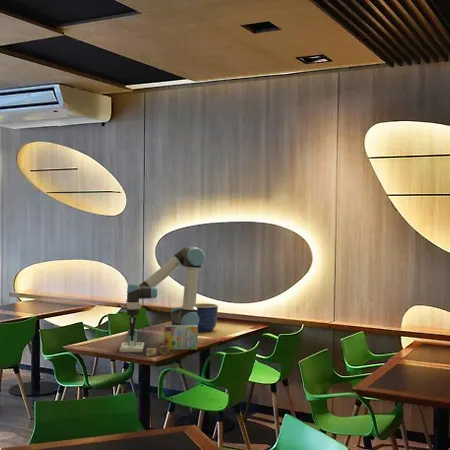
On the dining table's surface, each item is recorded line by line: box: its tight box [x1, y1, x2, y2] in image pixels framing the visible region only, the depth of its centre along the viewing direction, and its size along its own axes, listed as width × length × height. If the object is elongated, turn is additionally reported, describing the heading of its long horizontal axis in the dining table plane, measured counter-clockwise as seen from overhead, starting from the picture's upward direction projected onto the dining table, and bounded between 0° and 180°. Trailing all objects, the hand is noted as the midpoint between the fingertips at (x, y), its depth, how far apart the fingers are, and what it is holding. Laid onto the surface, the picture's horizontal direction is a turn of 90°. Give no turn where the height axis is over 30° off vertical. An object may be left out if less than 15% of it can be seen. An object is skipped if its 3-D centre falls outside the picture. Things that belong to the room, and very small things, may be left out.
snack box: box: [164, 324, 199, 351], centre depth 394 cm, size 21×6×15 cm, turn 92°
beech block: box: [146, 347, 157, 357], centre depth 375 cm, size 5×4×4 cm
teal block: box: [127, 328, 138, 346], centre depth 392 cm, size 5×5×10 cm
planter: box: [196, 302, 219, 333], centre depth 460 cm, size 21×21×19 cm
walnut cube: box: [159, 345, 171, 356], centre depth 378 cm, size 5×5×5 cm
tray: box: [119, 341, 145, 353], centre depth 392 cm, size 14×20×2 cm
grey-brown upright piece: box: [160, 332, 165, 345], centre depth 407 cm, size 6×6×7 cm
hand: (132, 344), depth 392 cm, fingers closed on teal block, 5 cm apart
